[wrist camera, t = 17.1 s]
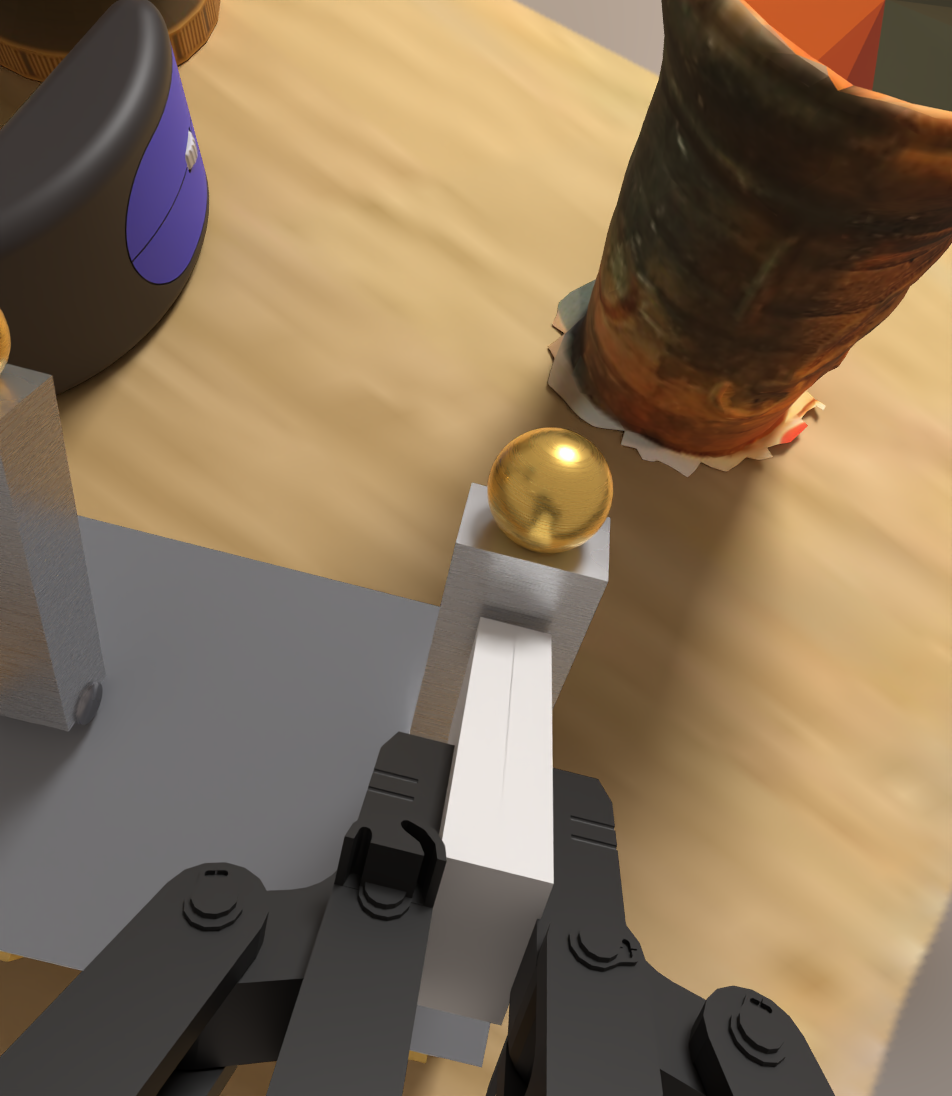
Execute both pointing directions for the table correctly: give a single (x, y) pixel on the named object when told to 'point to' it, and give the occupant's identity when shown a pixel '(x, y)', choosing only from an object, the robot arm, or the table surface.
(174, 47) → the vase
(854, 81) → the vessel
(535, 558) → the lever
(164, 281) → the dark grey curved slab
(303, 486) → the table surface
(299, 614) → the console
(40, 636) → the lever
